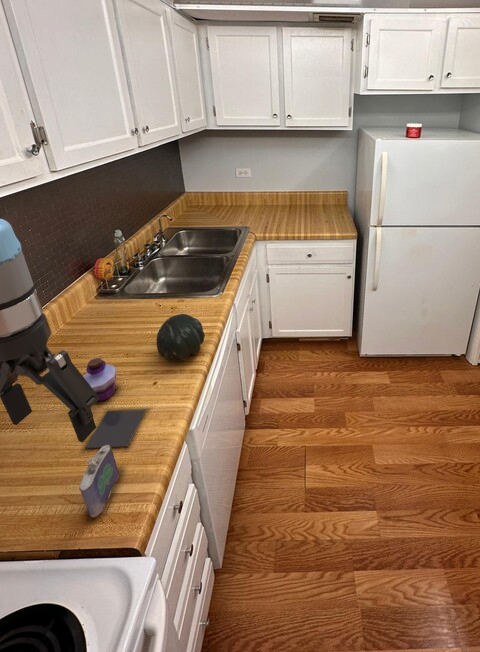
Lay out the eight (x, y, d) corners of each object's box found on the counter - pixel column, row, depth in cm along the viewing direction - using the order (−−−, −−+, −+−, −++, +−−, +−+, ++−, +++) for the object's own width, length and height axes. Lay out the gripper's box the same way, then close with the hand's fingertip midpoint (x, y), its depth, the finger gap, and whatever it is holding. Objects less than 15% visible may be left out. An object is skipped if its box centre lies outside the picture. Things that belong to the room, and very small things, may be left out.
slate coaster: (85, 448, 80) (85, 447, 79) (107, 412, 89) (107, 411, 89) (127, 447, 80) (127, 446, 80) (145, 410, 89) (145, 409, 89)
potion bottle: (79, 406, 90) (67, 373, 86) (99, 381, 98) (89, 349, 94) (110, 407, 90) (99, 374, 86) (128, 382, 98) (119, 350, 94)
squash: (213, 319, 117) (178, 296, 110) (211, 349, 104) (171, 326, 97) (185, 344, 119) (149, 324, 112) (180, 378, 105) (139, 357, 99)
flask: (100, 518, 66) (86, 483, 62) (85, 519, 66) (70, 484, 62) (122, 470, 75) (111, 437, 71) (109, 471, 75) (97, 438, 71)
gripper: (104, 319, 49) (133, 421, 57) (-24, 298, 54) (19, 394, 62) (57, 355, 42) (97, 465, 50) (-84, 326, 47) (-27, 430, 55)
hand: (54, 426), depth 56 cm, fingers open, 13 cm apart
